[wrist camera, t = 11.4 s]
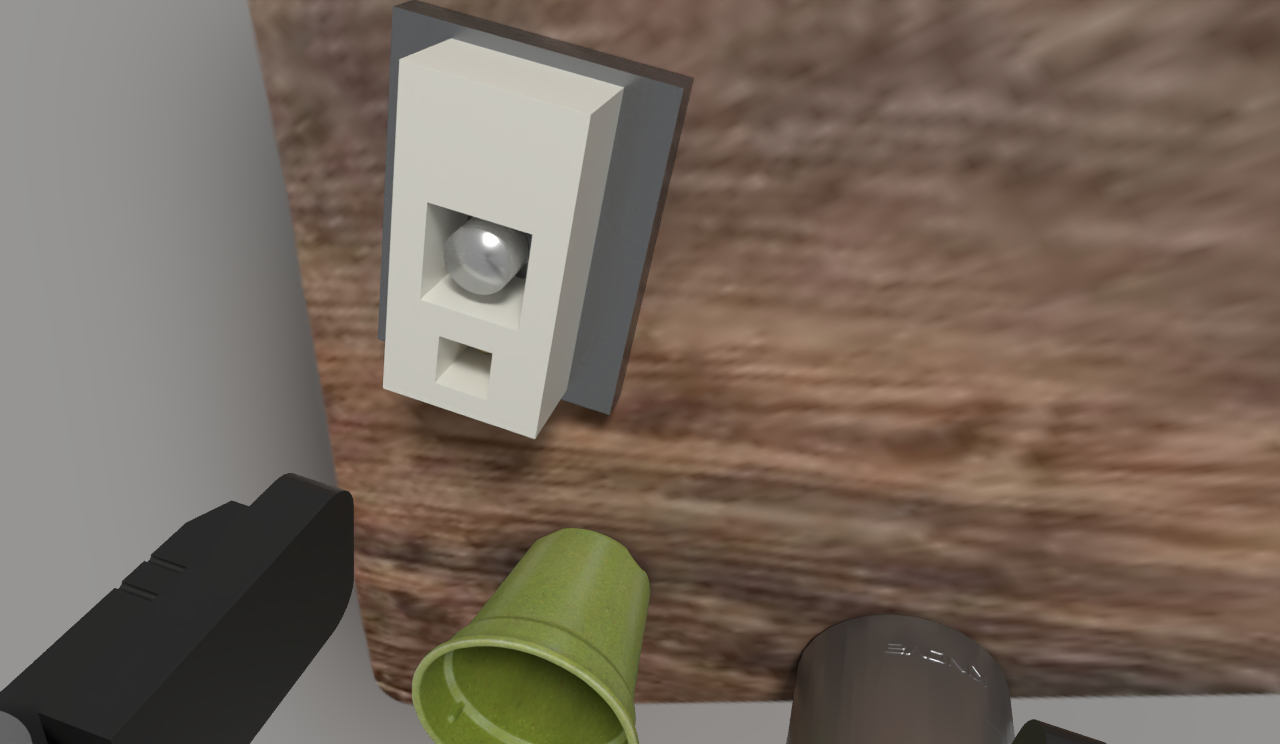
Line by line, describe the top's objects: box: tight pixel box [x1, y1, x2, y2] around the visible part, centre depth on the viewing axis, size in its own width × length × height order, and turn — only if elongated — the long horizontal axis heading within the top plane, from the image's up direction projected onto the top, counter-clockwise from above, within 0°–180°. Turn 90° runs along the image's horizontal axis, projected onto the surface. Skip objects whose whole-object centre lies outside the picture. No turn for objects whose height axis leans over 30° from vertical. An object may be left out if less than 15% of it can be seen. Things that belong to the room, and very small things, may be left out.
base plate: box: [378, 0, 694, 415], centre depth 31 cm, size 13×10×4 cm
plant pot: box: [412, 528, 650, 744], centre depth 38 cm, size 9×9×9 cm
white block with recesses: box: [383, 38, 624, 439], centre depth 30 cm, size 12×6×4 cm, turn 167°
